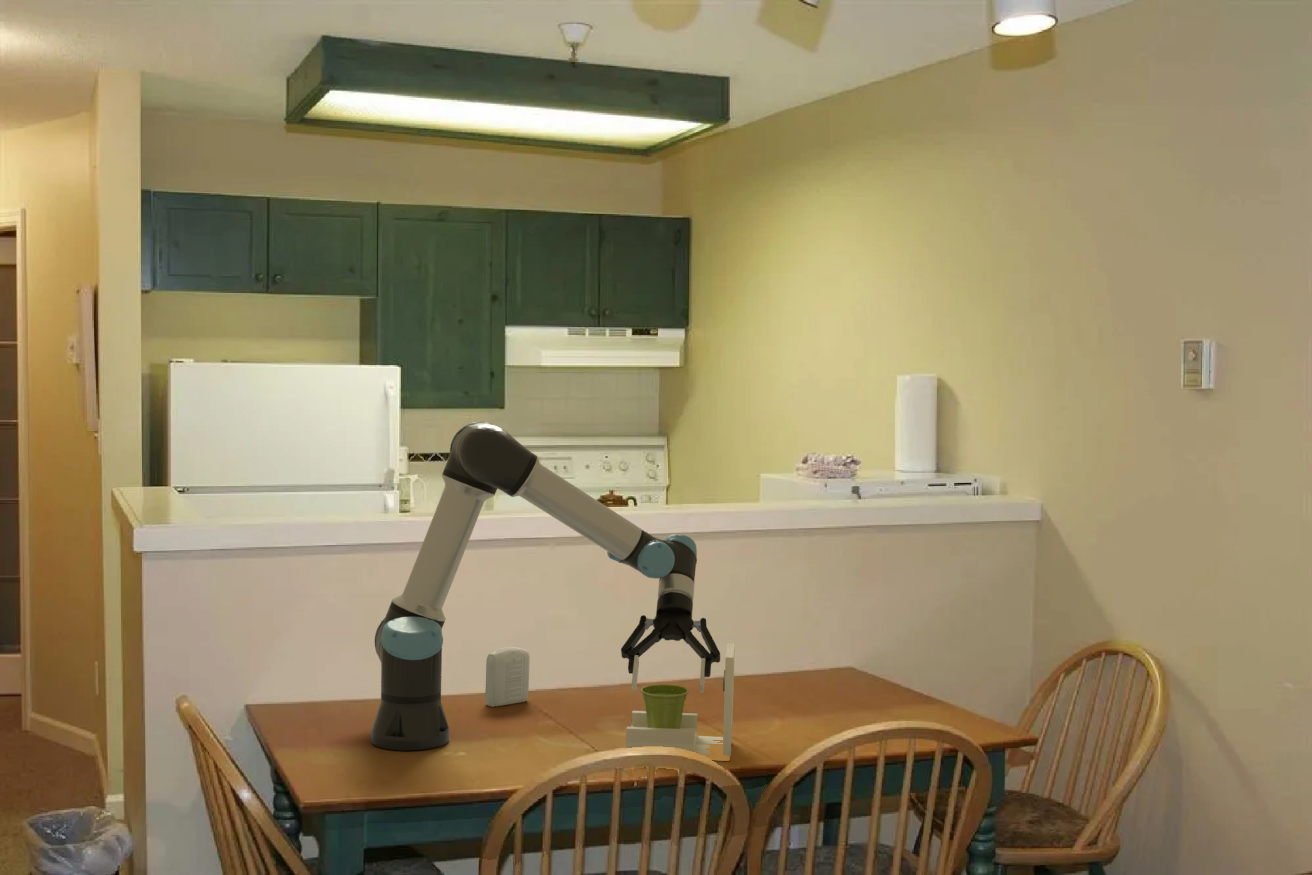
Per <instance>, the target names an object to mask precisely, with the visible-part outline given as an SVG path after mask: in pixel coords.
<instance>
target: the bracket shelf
mask: <svg viewBox="0 0 1312 875" xmlns="http://www.w3.org/2000/svg"><path fill="white" fill-rule="evenodd" d="M735 645H736V643H735V642H734V643H733V642H727V643H726V649H725V650H726V652H725V659H724V660H725V662H724V663H725V665H724V669H723V671H724V672H723V679H722V692H723V693H724V696H723V697H724V699H723V700H724V701H723V728H722V729H723V731H722V732H723V733H722V736H708V735H707V736H706V735H705V736H704V735H698V713H691V712H689V713H687V712H683V713H682V720H681V727H680V729H668V728H648V723H647V714H646V710H645V711H644V710H632V713H631V726H626V729H625V749H626V748H632V747H643V746H663V747H675V748H681V749H686V750H689V751H692V752H696V753H701V755H704V754H703V753H705V754H707V755H706V756H708V757H709V755H710V754H708V753H711V752H710V751H709V750H706V748H710V747H709V746H710V745H707V744H723V755H727V756H731V757H732V747H731V744H733V719H734V718H733V716H734V715H733V713H734V712H733V711H734V684H735V682H734V681H735V652H736V651H735V650H736V649H735ZM713 740H723V743H717V742H720V741H713ZM698 751H700V752H698Z"/></svg>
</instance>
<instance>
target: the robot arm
mask: <svg viewBox="0 0 1312 875" xmlns="http://www.w3.org/2000/svg"><path fill="white" fill-rule="evenodd" d="M449 446H450V448H449V456H448V458H447V461H446V464H445V467H444V469H443V472H442V473H441V476H442V479H443V482H444V489H443V491H442V493H441V495H440V496H441V497H440V499H439V501H438V504H437V507H436V509H435V511H434V513H433V514H434V515H433V516H432V520H431V522H430V524H429V526H428V529H427V531H426V534H425V537H424V539H423V542H422V544H421V547H420V550H419V551H418V555H417V557H416V559H415V562H414V564H413V567H412V569H411V571H410V575H409V577H408V580H407V582H406V585H405V587H404V589H403V592H402V594H401V595H399V596H397V597H395V598H393V599H392V600H391V602H390V605H389V607H388V609H387V613H386V614H385V617H384V618H383V620H381V621H380V623H379V624H378V626H377V628H376V630H375V631H376V632H375V635H374V647H375V653H376V655H377V657H378V659H379V661H380V666H381V667H380V670H381V671H380V673H381V675H380V678H381V679H380V704H379V707H378V710H377V712H376V715H375V719H374V721H373V724H372V727H371V731H370V733H371V734H370V742H371V744H372V745H373V746H375V747H378V748H382V749H385V750H392V751H403V752H404V751H405V752H407V751H409V752H410V751H422V750H430V749H434V748H439V747H442V746H444V745H446V744H448V743H449V741H450V728H449V727H450V725H449V724H448V720H447V716H446V714H445V711H444V710H445V709H444V706H443V703H442V667H443V666H442V663H443V662H442V661H443V660H442V659H443V657H442V655H443V644H444V637H443V631H442V630H443V627H444V625H445V622H446V617H445V614H444V611H443V607H444V604H445V601H446V599H447V596H448V593H449V591H450V589H451V587H452V585H453V582H454V579H455V576H456V574H457V572H458V569H459V566H460V564H461V561H462V560H463V559H462V558H463V556H464V554H465V551H466V548H467V546H468V544H469V541H470V539H471V536H472V534H473V531H474V528H475V526H476V524H477V522H478V518H479V516H480V514H481V511H482V509H483V506H484V503H485V502H486V501H487V500H488V499H491V498H493V497H494V496H495V495H496V492H497V490H499V491H501V492H502V493H504V494H506V495H508V496H509V497H510V498H515V497H521V498H522V499H524V500H525V501H527V502H528V503H529V504H532V505H534V506H535V507H537V508H538V509H539V510H541V511H543V512H545V514H548V515H549V516H551V517H552V518H554V519H555V520H557V521H558V522H561V523H562V524H563V525H565V526H567V527H569V529H572V530H573V531H575V532H576V533H578V534H579V535H581V536H582V537H584V538H585V539H587V540H589V541H591V542H592V543H593V544H595V545H597V546H599V547H600V548H601V549H604V550H605V551H606V553H607V557H608V558H609V559H611V560H613V561H616V562H618V563H619V564H623V565H626V566H629V567H630V568H632V569H634V570H636V571H638V572H639V573H640V574H642V575H643V576H644V577H645V576H646V578H649V579H658V580H659V581H658V589H657V590H658V592H657V602H656V612H655V617H654V618H648V617H647V616H646V615H643V614H642V615H640V618H639V622H638V624H637V626H636V628H635V629H634V630H633V631H632V633H631V634H630V636H629V637H628V638H627V639H626V641H625V643H624V644H623V645H622V646H621V648H620V653H621V658H622V659H627V660H628V663H627V664H628V665H627V671H628V674H632V677H631V689H632V691H637V685H638V679H639V678H638V677H639V676H638V675H639V666H640V659H639V658H640V657H641V656H642V655H644V654H645V653H646V652H647V651H648V650H650V648H651V647H653V646H654V645H656V643H659V642H660V641H661V640H662V639H663V640H664V641H672V640H673V641H675V642H680V641H681V640H683V641H684V642H685V643H686V644H687V645H689V646H690V647H691V649H692V650H693V651H694V652H695V653H696V654H697V656H699V658H700V659H701V662H700V675H699V677H700V678H699V693H700V694H704V693H705V679H706V678H710V677H711V674H712V673H711V672H712V665H713V663H716V664H717V663H720V662H721V652H720V650H719V649H718V646H717V644H716V643H715V641H714V639H713V636H712V634H711V632H710V630H709V629H708V627H707V619H706V618H705V617H702V618H700V620H693V610H694V608H693V607H694V597H695V596H694V594H695V578H696V571H697V570H696V568H697V563H698V562H697V561H698V558H697V556H698V555H697V554H698V553H697V544H696V542H695V540H694V539H692V537H690V536H688V535H686V534H685V535H684V534H680V535H679V534H676V533H675V534H671V535H669V536H667V537H666V538H665V539H661V538H658V537H655V536H653V535H651V534H650V533H648V532H647V531H645V530H644V529H642V528H640V527H639V526H637V525H636V524H635V523H632V522H631V521H630V520H628V519H626V518H625V517H623V516H622V515H620V514H619V513H617V512H616V511H614V510H613V509H612V508H610V507H608V506H607V505H605V504H603V503H602V502H600V501H599V500H597V499H595V498H594V497H592V496H591V495H589V494H588V493H586V492H584V491H583V490H582V489H580V488H579V487H577V486H575V485H574V484H572V483H570V482H569V481H568V480H566V479H564V478H563V477H561V476H560V475H558V474H557V473H555V472H553V471H552V470H550V469H549V468H547V467H546V466H544V465H543V464H541V462H540V458H539V456H538V455H537V454H535V453H533V452H532V451H531V450H529V449H527V447H525V446H524V445H522V444H521V443H520V442H519V441H518V440H517V439H516V438H514V437H513V436H512V435H511V434H510V433H509V432H508V431H507V430H505V429H504V428H502V427H500V426H498V425H495V424H493V423H489V422H486V421H476V422H471V423H468V424H466V425H464V426H463V427H462V428H460V429H459V430H458V431H457V432H456V433H455V435H454V436H453V438H452V440H451V442H450V444H449ZM651 626H653V630H651V632H650V633H649V634H648V635H647V636H646V637H644V639H642V640H641V638H642V637H643V635H644V634H645V632H646V630H647V631H648V630H649V628H650V627H651ZM694 628H695V629H696V630H697V632H698V633H700V634H701V638H702V640H703V641H704V643H705V645H706V647H707V648H706V647H704V645H703V644H702V643H701V642H700V640H698V639H697V637H696V636H695V635H694V634H693V632H692V630H694ZM640 640H641V641H640ZM639 641H640V642H639Z"/></svg>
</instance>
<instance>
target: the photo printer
mask: <svg viewBox="0 0 1312 875" xmlns="http://www.w3.org/2000/svg"><path fill="white" fill-rule="evenodd" d="M485 662H486V664H485V666H486V667H485V668H486V669H485V690H484V691H485V692H484V693H485V694H484V695H485V697H484V698H485V704H486V706H488V707H492V708H496V707H499V706H500V707H501V706H506V705H507V706H508V705H512V704H519V703H525V701H526V702H528V701H529V686H530V685H529V684H530V682H529V681H530V654H529V652H528V650H527V649H525V648H522V647H517V646H506V647H500V648H498V649H496V650H494V651H491V652H490V653H489V654H488V655H487V657H486V661H485ZM495 706H496V707H495Z"/></svg>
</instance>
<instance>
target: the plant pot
mask: <svg viewBox="0 0 1312 875" xmlns="http://www.w3.org/2000/svg"><path fill="white" fill-rule="evenodd" d="M689 692H690V691H689V689H688V688H687V687H685V686H681V685H676V684H668V683H667V684H662V683H661V684H660V683H659V684H650V685H644V686H643V687H641V688H640V693H642V696H643V697H642V698H643V700H644V704H645V711H646V714H647V723H648V728H668V729H680V727H681V720H682V713H684V707H685V706H684V705H685V701H686V700H687V695H688V694H689Z"/></svg>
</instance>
